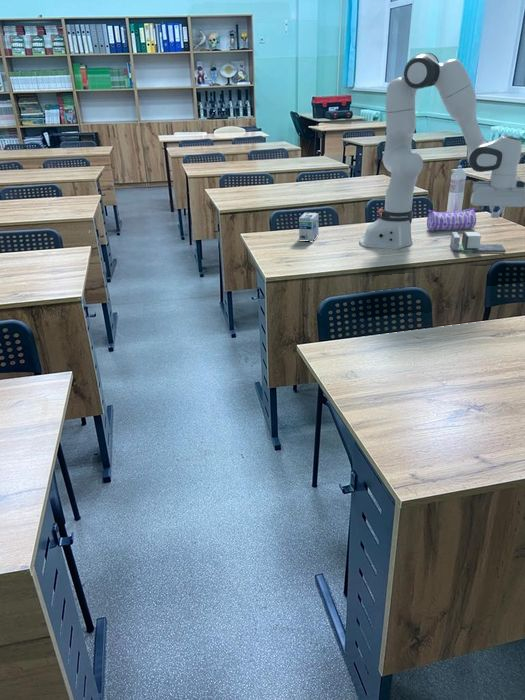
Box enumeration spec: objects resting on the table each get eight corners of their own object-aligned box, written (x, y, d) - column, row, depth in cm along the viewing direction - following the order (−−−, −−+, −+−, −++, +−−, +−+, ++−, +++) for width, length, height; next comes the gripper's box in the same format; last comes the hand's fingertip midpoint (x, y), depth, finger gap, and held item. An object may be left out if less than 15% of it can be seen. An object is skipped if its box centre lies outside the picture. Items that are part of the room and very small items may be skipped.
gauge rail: (452, 252, 211) (454, 237, 208) (449, 246, 218) (451, 232, 215) (505, 253, 208) (508, 237, 205) (500, 247, 215) (503, 232, 212)
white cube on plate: (465, 249, 210) (466, 236, 207) (461, 242, 217) (463, 231, 215) (479, 249, 209) (481, 236, 206) (475, 243, 216) (477, 231, 214)
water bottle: (461, 220, 254) (468, 166, 242) (446, 220, 255) (453, 167, 244) (459, 217, 260) (466, 164, 248) (445, 217, 261) (451, 164, 250)
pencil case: (468, 225, 247) (471, 205, 242) (478, 230, 238) (481, 209, 234) (423, 229, 244) (425, 208, 240) (431, 234, 236) (434, 213, 232)
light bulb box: (313, 242, 231) (313, 218, 226) (298, 241, 234) (298, 217, 228) (318, 236, 240) (319, 212, 235) (304, 235, 242) (304, 212, 237)
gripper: (475, 181, 198) (468, 218, 205) (532, 183, 195) (523, 220, 202) (472, 179, 204) (466, 214, 210) (527, 180, 201) (519, 216, 207)
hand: (494, 217), depth 206 cm, fingers closed
